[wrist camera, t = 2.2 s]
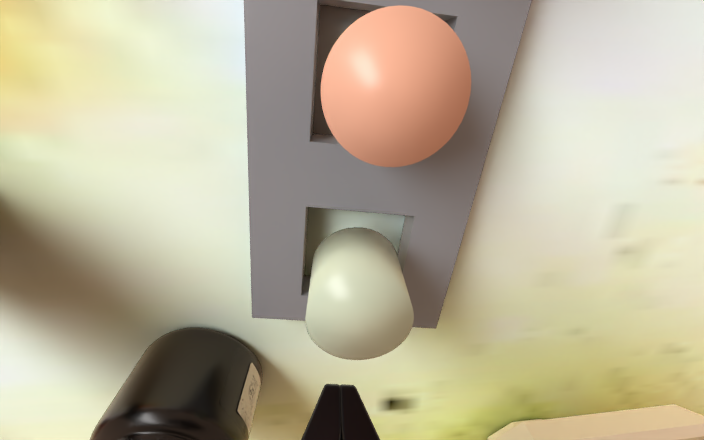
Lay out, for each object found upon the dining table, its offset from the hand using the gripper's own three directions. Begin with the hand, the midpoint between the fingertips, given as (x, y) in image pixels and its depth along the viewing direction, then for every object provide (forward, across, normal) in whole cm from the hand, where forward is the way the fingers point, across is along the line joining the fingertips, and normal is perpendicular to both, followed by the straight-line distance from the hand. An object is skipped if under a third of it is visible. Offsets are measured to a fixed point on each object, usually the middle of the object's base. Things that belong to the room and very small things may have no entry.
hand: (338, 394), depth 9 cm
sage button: (+10, -1, +2) cm, 10 cm away
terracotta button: (+10, -1, -7) cm, 12 cm away
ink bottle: (+13, +9, +15) cm, 21 cm away
